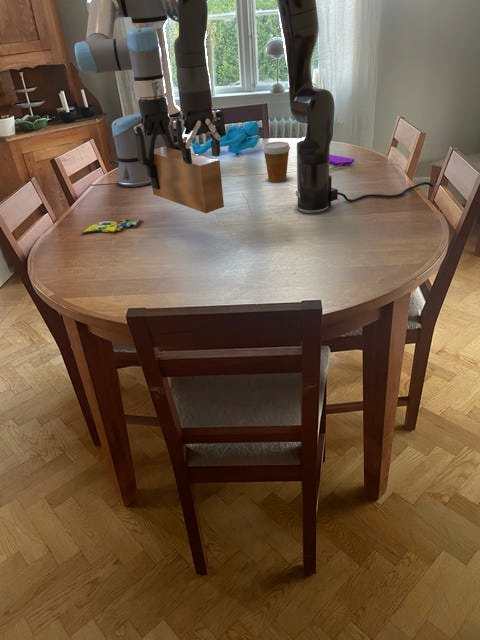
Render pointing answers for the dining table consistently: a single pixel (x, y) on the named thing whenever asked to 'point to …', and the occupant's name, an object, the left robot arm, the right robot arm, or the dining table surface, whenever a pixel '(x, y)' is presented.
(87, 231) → the toy
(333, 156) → the musical instrument
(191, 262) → the dining table surface
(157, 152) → the box
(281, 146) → the disposable coffee cup
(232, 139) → the toy
